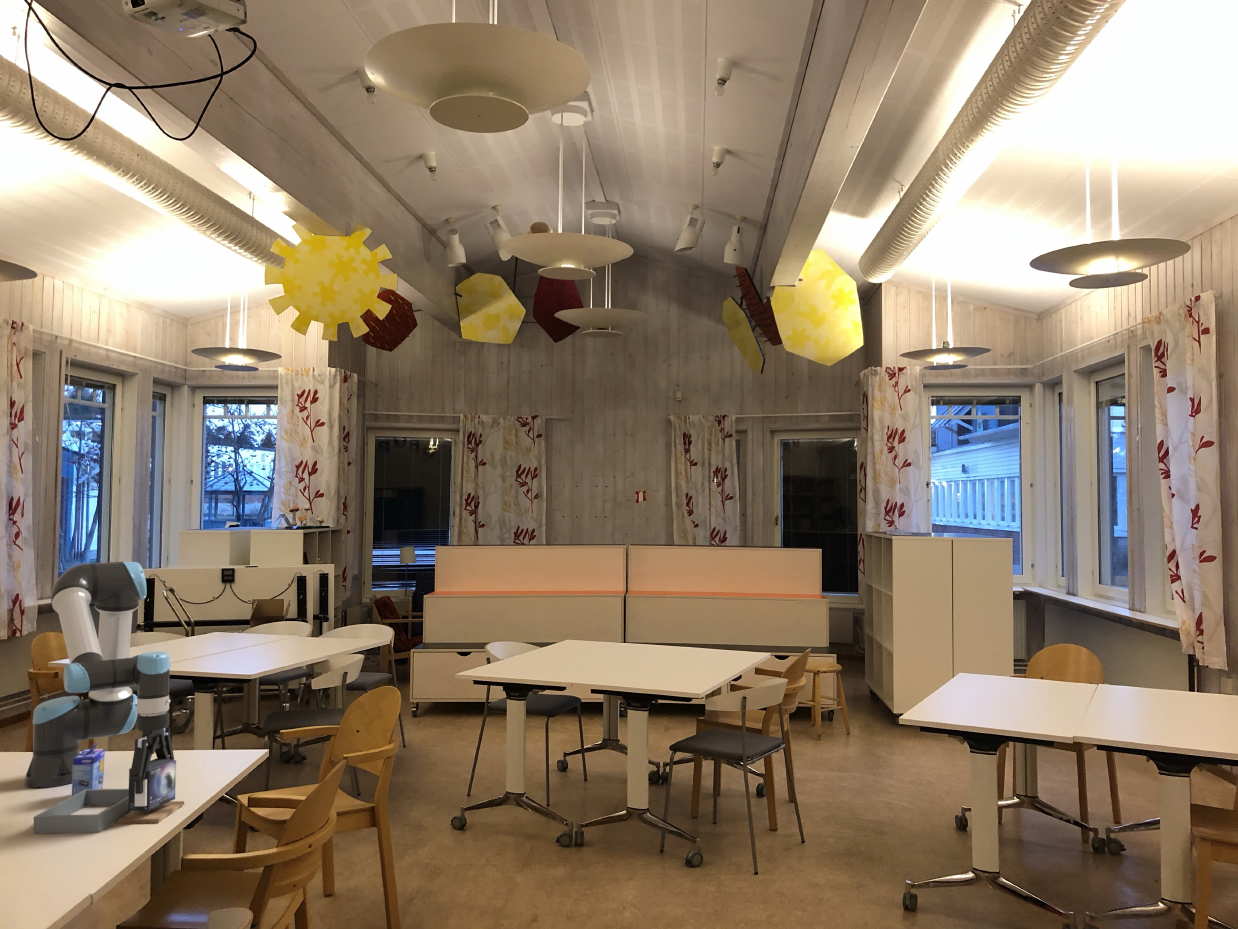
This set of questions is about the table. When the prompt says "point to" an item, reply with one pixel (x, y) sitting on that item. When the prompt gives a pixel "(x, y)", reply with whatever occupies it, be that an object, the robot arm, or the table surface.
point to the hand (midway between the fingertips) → (152, 798)
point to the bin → (64, 822)
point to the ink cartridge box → (88, 770)
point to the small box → (156, 785)
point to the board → (151, 814)
